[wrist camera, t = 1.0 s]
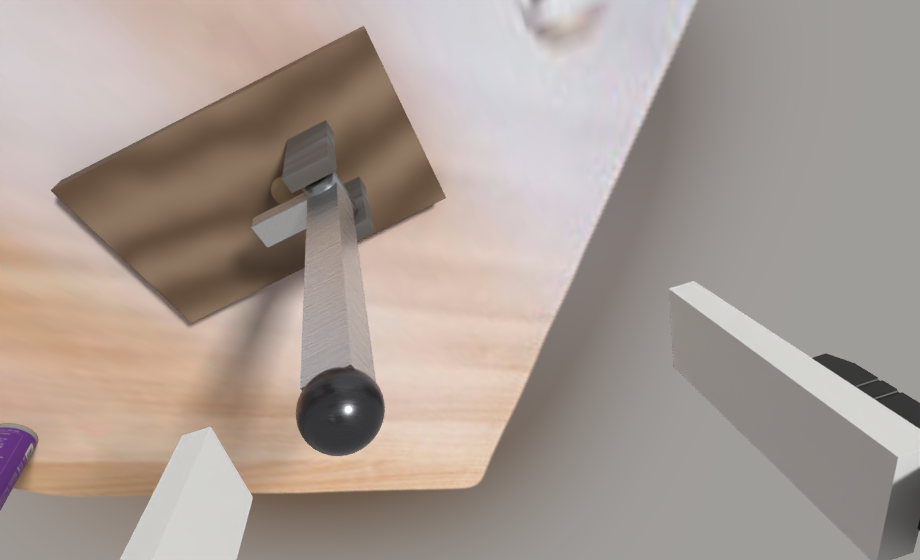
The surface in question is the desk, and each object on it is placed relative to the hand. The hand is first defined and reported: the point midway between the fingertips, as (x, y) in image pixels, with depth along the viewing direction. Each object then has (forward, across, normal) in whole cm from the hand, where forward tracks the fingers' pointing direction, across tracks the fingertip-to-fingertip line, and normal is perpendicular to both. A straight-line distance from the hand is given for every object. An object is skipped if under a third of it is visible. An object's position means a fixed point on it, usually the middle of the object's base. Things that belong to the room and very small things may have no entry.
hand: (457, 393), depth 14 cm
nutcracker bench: (+36, -11, +1) cm, 37 cm away
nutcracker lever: (+28, -7, 0) cm, 29 cm away
